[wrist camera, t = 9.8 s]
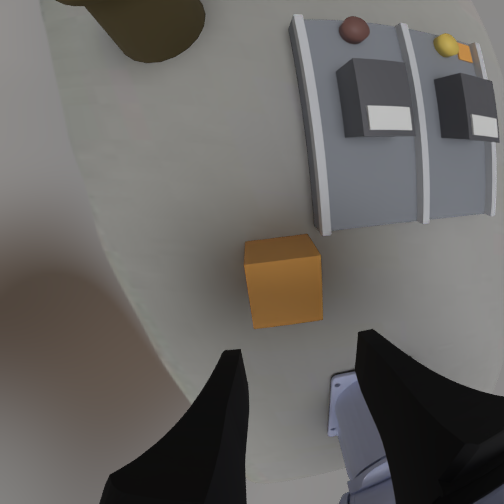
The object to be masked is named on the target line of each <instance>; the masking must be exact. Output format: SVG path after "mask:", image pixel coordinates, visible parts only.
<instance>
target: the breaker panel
mask: <svg viewBox="0 0 504 504" xmlns="http://www.w3.org/2000/svg"><path fill="white" fill-rule="evenodd" d="M289 34H290V39H291V44H292V50H293V55H294V61H295V67H296V73H297V79H298V85H299V92H300V98H301V105H302V112H303V120H304V127H305V135H306V143H307V152H308V161H309V170H310V180H311V190H312V201H313V213H314V226H315V227H316V228H317V229H318V231H319V232H320V233H321V234H322V236H328V235H331V231H334V230H342V229H351V228H359V227H367V226H376V225H385V224H393V223H402V222H411V221H418V222H420V223H422V224H428V223H429V219H438V218H447V217H457V216H466V215H476V214H487V215H489V216H495V206H496V144H495V142H487V141H475V140H463V139H450V138H441V130H440V120H439V112H438V104H437V97H436V91H435V85H434V79H438V78H441V77H445V76H449V75H453V74H457V73H464V74H468V75H472V76H475V77H479V78H483V79H486V80H488V79H487V74H486V69H485V65H484V60H483V56H482V52H481V48H480V45H479V44H478V43H472V44H466V43H462V42H459V41H456V40H455V39H454V38H453V37H452V36H451V35H449V34H446V33H445V34H442V35H440V36H438V35H434V34H430V33H425V32H421V31H416V30H411V29H408V26H407V24H404V23H399V24H398V25H396V26H395V27H394V26H388V25H381V24H373V23H366V22H365V21H364V20H362V19H361V18H358V17H354V16H352V17H348V18H346V19H345V20H344V21H340V20H304V19H303V15H302V14H294V15H293V17H292V20H291V23H290V26H289ZM352 58H363V59H377V60H388V61H397V62H405V64H406V69H407V74H408V80H409V86H410V92H411V98H412V105H413V113H414V121H415V131H416V136H395V137H347V138H345V133H344V125H343V117H342V110H341V102H340V96H339V89H338V83H337V77H336V71H337V70H338V69H339V68H341V67H342V66H343V65H344V64H346V63H347V62H348V61H349V60H351V59H352Z"/></svg>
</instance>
